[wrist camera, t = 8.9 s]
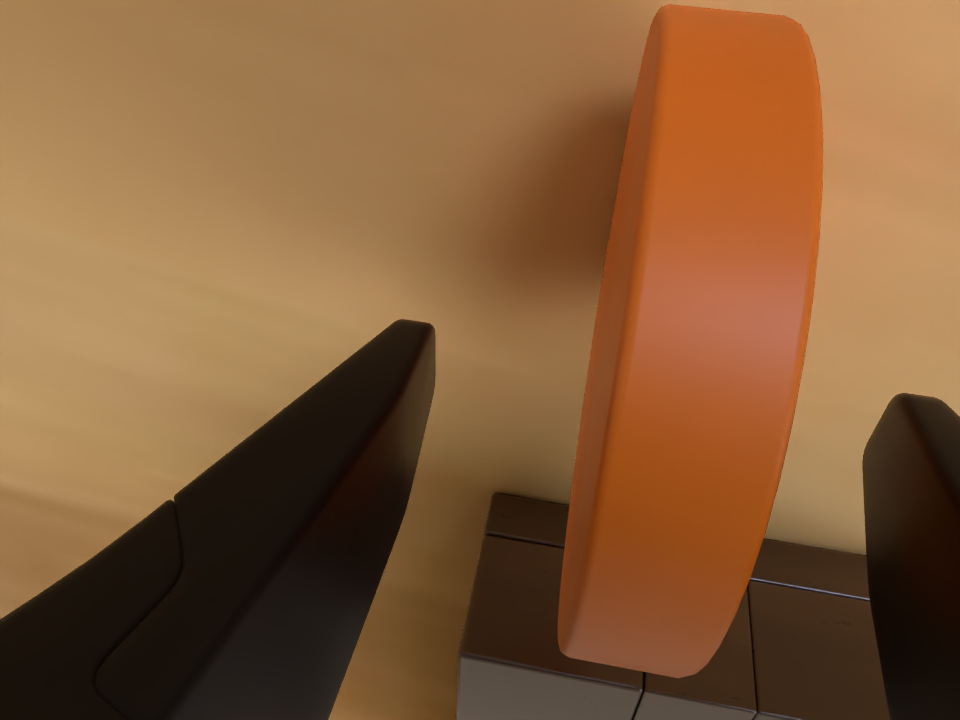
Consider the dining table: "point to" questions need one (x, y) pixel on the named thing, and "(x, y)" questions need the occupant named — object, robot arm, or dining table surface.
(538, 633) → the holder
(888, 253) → the dining table surface
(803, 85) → the token
